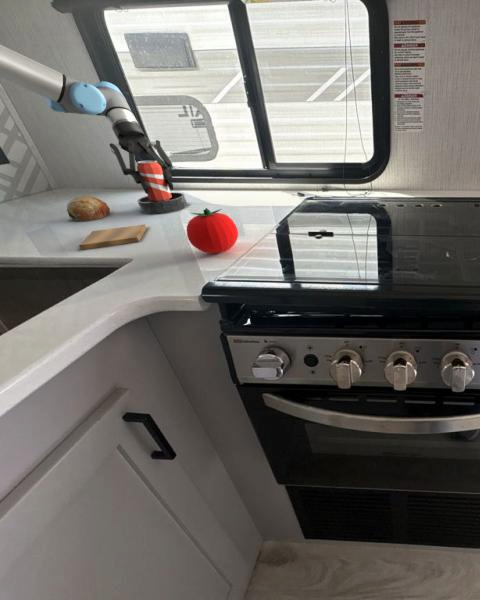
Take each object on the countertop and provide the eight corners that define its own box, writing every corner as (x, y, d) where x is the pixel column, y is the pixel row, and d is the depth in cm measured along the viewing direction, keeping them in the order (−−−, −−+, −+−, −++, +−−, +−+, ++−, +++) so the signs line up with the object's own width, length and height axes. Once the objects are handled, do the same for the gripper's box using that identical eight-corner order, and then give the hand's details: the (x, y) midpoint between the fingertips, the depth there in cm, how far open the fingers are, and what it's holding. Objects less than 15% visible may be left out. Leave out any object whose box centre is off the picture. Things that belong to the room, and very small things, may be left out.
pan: (138, 216, 103) (133, 205, 101) (146, 205, 114) (141, 195, 112) (185, 210, 108) (182, 199, 106) (189, 200, 118) (185, 190, 116)
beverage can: (176, 198, 111) (163, 160, 104) (158, 203, 106) (142, 163, 99) (165, 197, 113) (150, 159, 106) (146, 201, 108) (130, 162, 102)
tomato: (190, 250, 79) (174, 209, 74) (235, 240, 85) (223, 200, 80) (200, 264, 72) (184, 220, 67) (248, 252, 78) (237, 210, 73)
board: (81, 249, 81) (78, 245, 80) (94, 235, 89) (92, 231, 89) (139, 241, 85) (137, 237, 84) (146, 228, 93) (145, 224, 93)
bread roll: (75, 229, 104) (50, 209, 98) (99, 207, 109) (76, 187, 103) (98, 232, 102) (73, 212, 95) (121, 209, 107) (99, 189, 100)
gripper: (161, 135, 115) (192, 191, 114) (92, 139, 104) (125, 201, 102) (159, 118, 109) (192, 177, 107) (85, 121, 98) (120, 186, 96)
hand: (159, 188), depth 105 cm, fingers closed on beverage can, 6 cm apart
